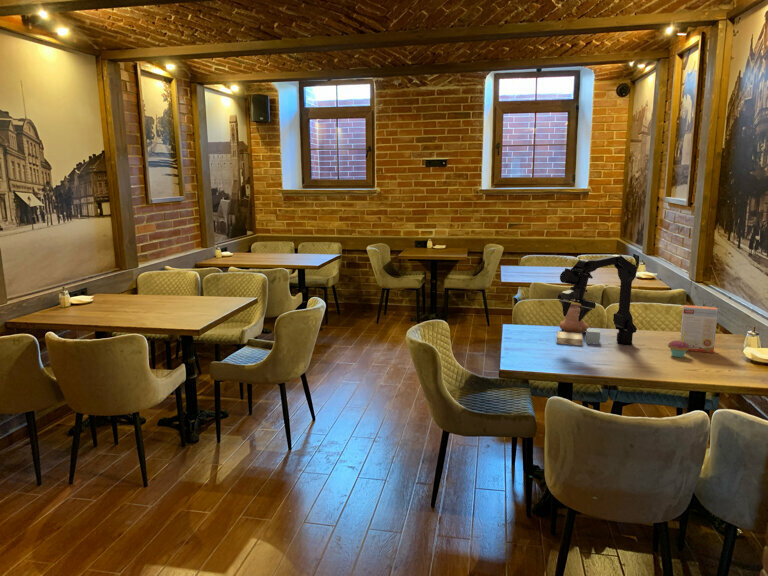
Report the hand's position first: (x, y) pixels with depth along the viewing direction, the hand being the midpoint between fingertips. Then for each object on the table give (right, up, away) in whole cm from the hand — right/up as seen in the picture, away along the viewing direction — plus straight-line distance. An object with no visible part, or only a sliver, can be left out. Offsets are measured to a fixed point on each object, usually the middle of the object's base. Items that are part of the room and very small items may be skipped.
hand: (571, 318), depth 261 cm
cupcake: (+46, -17, -6) cm, 50 cm away
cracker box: (+60, -15, +3) cm, 62 cm away
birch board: (+5, -12, +17) cm, 21 cm away
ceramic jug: (+13, -9, +35) cm, 38 cm away
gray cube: (+16, -13, +16) cm, 25 cm away
